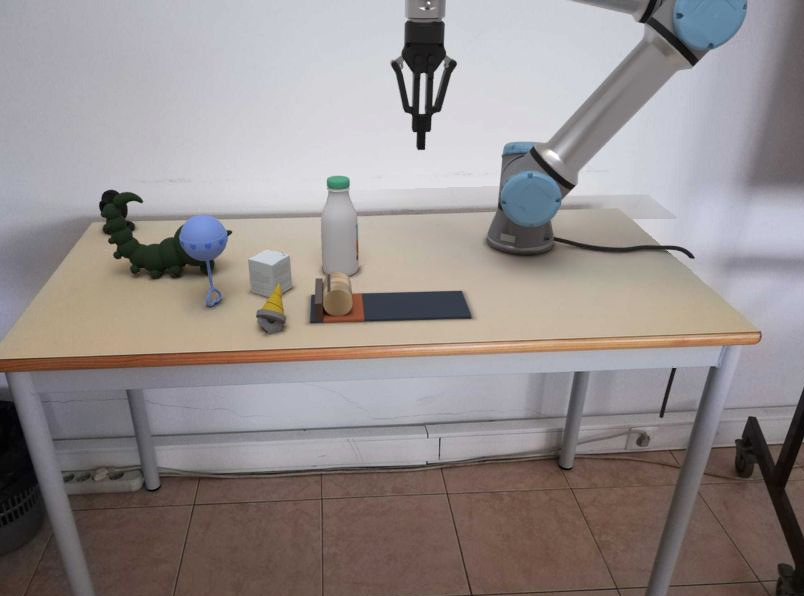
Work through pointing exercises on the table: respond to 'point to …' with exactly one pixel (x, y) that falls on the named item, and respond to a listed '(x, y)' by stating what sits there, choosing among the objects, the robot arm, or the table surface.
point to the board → (393, 306)
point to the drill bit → (272, 312)
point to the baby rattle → (204, 243)
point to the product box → (269, 272)
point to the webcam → (108, 199)
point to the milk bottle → (339, 229)
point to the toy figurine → (142, 255)
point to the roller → (337, 294)
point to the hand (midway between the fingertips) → (420, 148)
